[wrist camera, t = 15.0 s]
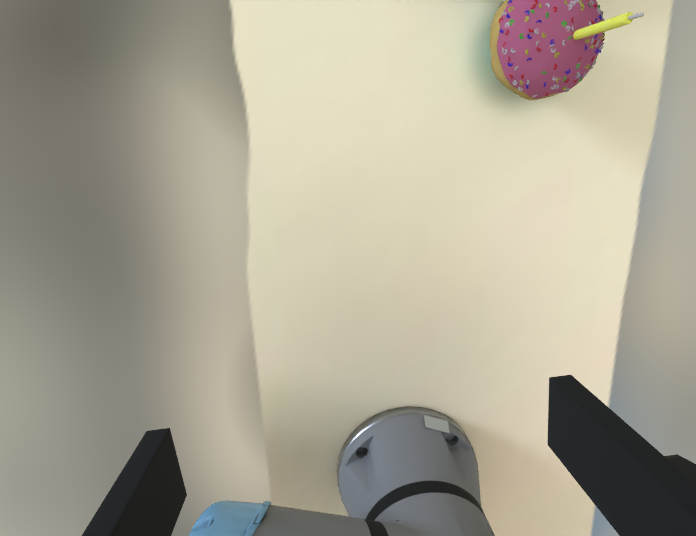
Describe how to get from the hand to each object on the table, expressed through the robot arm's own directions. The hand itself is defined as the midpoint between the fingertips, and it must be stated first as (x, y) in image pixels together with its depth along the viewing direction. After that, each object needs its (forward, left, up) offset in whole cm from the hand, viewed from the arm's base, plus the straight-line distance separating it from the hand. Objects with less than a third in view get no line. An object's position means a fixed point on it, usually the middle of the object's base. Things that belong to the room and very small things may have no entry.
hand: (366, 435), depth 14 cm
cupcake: (+16, -18, -27) cm, 36 cm away
